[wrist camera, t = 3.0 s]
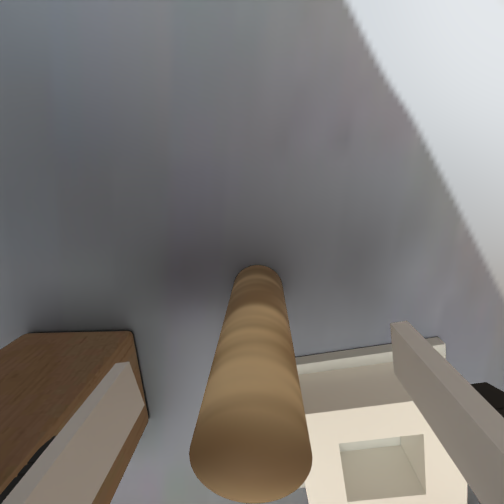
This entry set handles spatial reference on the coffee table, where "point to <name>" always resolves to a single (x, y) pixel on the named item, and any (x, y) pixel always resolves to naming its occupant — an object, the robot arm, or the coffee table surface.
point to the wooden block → (59, 394)
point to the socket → (371, 434)
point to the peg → (253, 400)
